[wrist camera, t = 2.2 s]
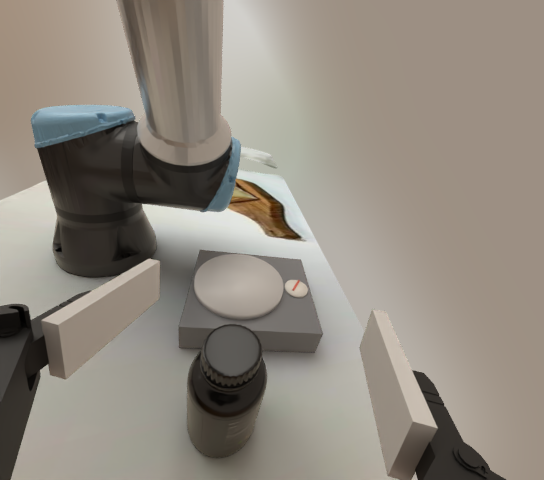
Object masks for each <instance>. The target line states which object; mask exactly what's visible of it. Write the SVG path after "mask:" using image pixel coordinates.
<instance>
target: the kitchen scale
mask: <svg viewBox="0 0 544 480" xmlns="http://www.w3.org/2000/svg"><path fill="white" fill-rule="evenodd" d="M228 324H237V325H242V326H246V327H247V328H249V329H251V331H253V332H254V333H255V334H256V335H257V336H258V339H259V340H260V343H261V345H262V347H261V348H262V351H286V352H313V353H315V351H316V348H317V346H318V344H319V341H320V339H321V337H322V334H323V333H322V330H321V326H320V323H319V319H318V316H317V313H316V309H315V306H314V302H313V299H312V295H311V292H310V289H309V285H308V282H307V278H306V275H305V272H304V268H303V265H302V261H301V260H299V259H288V258H278V257H268V256H257V255H247V254H237V253H227V252H216V251H206V250H200V252H199V255H198V259H197V262H196V266H195V270H194V273H193V277H192V280H191V284H190V288H189V291H188V295H187V299H186V302H185V306H184V309H183V313H182V317H181V320H180V324H179V348H202V346H203V344H204V340H205V339H206V337H207V336H208V335H209V334H210V332H212V331H213V330H214V329H216V328H218V327H219V326H223V325H228Z"/></svg>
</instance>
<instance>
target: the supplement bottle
mask: <svg viewBox="0 0 544 480" xmlns="http://www.w3.org/2000/svg"><path fill="white" fill-rule="evenodd" d="M261 347H262V345H261V343H260V340H259V339H258V336H257V335H256V334H255V333H254V332H253V331H251V329H249V328H247V327H246V326H242V325H237V324H228V325H223V326H219V327H218V328H216V329H214V330H213V331H212V332H210V334H209V335H208V336H207V337H206V339H205V340H204V344H203V346H202V350H201V351H200V352H199V353H198V354H197V356H196V357H195V359H194V360H193V362H192V364H191V366H190V369H189V373H188V382H187V427H188V433H189V436H190V439H191V441H192V443H193V444H194V446H195V447H196V448H197V449H198V450H199V451H200V452H201V453H203V454H205V455H207V456H210V457H214V458H222V457H226V456H229V455H232V454H234V453H235V452H237V451H238V450H239V449H241V448H242V447H243V446H244V445H245V443H246V442H247V440H248V439H249V437H250V435H251V433H252V431H253V428H254V425H255V422H256V418H257V415H258V412H259V409H260V405H261V402H262V399H263V396H264V392H265V389H266V384H267V370H266V366H265V363H264V361H263V359H262V348H261Z"/></svg>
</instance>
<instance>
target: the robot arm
mask: <svg viewBox="0 0 544 480" xmlns="http://www.w3.org/2000/svg"><path fill="white" fill-rule="evenodd" d="M116 1H117V4H118V9H119V12H120V16H121V20H122V24H123V28H124V32H125V36H126V39H127V43H128V47H129V51H130V55H131V59H132V63H133V66H134V70H135V74H136V78H137V82H138V86H139V90H140V93H141V98H142V101H143V105H144V109H145V113H144V114H143V115H142V117H141V118H140V120H139V122H135V121H134V120H135V116H134V114H133V112H132V110H131V109H129V108H124V107H120V106H108V105H67V106H54V107H46V108H42V109H39V110H37V111H36V112H35V113H34V114H33V115H32V118H31V124H32V129H33V133H34V138H35V148H37V149H38V153H39V156H40V160H41V163H42V166H43V170H44V173H45V176H46V180H47V183H48V186H49V189H50V193H51V196H52V199H53V203H54V206H55V209H56V213H57V221H56V227H55V234H54V240H53V253H54V256H55V259H56V262H57V264H58V265H59V266H60V267H61V268H62V269H63V270H65V271H67V272H69V273H72V274H75V275H80V276H87V277H102V276H111V275H116V274H120V273H123V274H121V275H119V276H117V277H116V278H114V279H112V280H111V281H109V282H107V283H105V284H104V285H102V286H100V287H98V288H97V289H95V290H93V291H87V292H84V293H81V294H78V295H76V296H74V297H72V298H71V299H69V300H67V302H66V301H65V302H63V303H61V304H60V305H59V306H56V307H54V308H52V309H51V310H49V311H47V312H45V313H43V314H42V315H40V316H38V317H36V318H34V319H33V320H31V319H30V314H29V308H28V307H27V306H26V305H22V304H9V305H4V306H0V480H10V479H11V476H12V472H13V469H14V466H15V462H16V459H17V455H18V452H19V448H20V445H21V442H22V438H23V435H24V431H25V428H26V425H27V421H28V418H29V414H30V411H31V407H32V404H33V401H34V397H35V394H36V390H37V387H38V383H39V380H40V370H41V369H42V368H43V367H45V366H46V365H47V364H48V365H49V371H50V375H53V376H56V377H59V378H63V379H67V378H68V377H69V376H71V375H72V374H73V373H74V372H75V371H76V370H78V369H79V368H80V367H81V366H82V365H83V364H85V363H86V362H87V361H88V360H89V359H90V358H91V357H93V356H94V355H95V354H96V353H97V352H98V351H100V350H101V349H102V348H103V347H104V346H105V345H107V344H108V343H109V342H110V341H111V340H112V339H113V338H115V337H116V336H117V335H118V334H119V333H120V332H122V331H123V330H124V329H125V328H126V327H127V326H129V325H130V324H131V323H132V322H133V321H134V320H135V319H137V318H138V317H139V316H140V315H141V314H142V313H144V312H145V311H146V310H147V309H148V308H149V307H151V306H152V305H153V304H154V303H155V302H156V301H157V300H159V298H160V261H158V260H153V259H150V258H151V257H152V256H153V255H154V253H155V251H156V236H155V233H154V231H153V229H152V227H151V225H150V223H149V221H148V219H147V217H146V215H145V213H144V211H143V208H142V204H150V205H159V206H166V207H174V208H181V209H189V210H196V211H200V212H206V211H212V212H221V211H224V210H225V209H226V208H227V207H228V206H229V203H230V201H231V198H232V195H233V191H234V187H235V179H236V176H237V172H238V167H239V161H240V152H241V144H240V142H239V140H237V139H235V138H234V137H231V130H230V127H229V125H228V123H227V121H226V120H225V119H224V118H223V117H222V116H221V114H220V113H221V75H222V36H223V33H222V32H223V0H116ZM360 352H361V357H362V361H363V366H364V370H365V375H366V379H367V384H368V389H369V393H370V398H371V402H372V407H373V411H374V416H375V421H376V425H377V430H378V434H379V439H380V443H381V448H382V453H383V457H384V462H385V466H386V471H387V475H388V476H390V477H393V478H396V479H400V480H411V479H412V477H413V475H414V473H415V472H416V475H417V478H418V480H506V479H504V478H502V477H501V476H499V475H497V474H495V473H494V472H492V471H491V470H490V468H489V466H488V464H487V463H486V462H485V460H484V459H483V458H482V457H481V455H479V453H477V452H476V451H475V450H474V449H473V448H472V447H470V446H469V445H467V444H466V443H464V442H463V440H462V438H461V436H460V434H459V432H458V430H457V428H456V427H455V424H454V422H453V421H452V419H451V417H450V415H449V413H448V411H447V409H446V407H444V403H443V401H442V399H441V397H439V393H438V391H437V389H436V388H435V386H434V384H433V383H432V382H431V381H430V379H429V378H428V377H427V376H426V375H425V374H424V373H421V372H417V371H413V370H412V369H411V367H410V365H409V363H408V360H407V358H406V356H405V354H404V351H403V349H402V347H401V345H400V342H399V340H398V338H397V336H396V334H395V331H394V329H393V327H392V325H391V322H390V320H389V318H388V315H387V313H386V312H383V311H379V310H375V309H372V311H371V315H370V318H369V320H368V323H367V327H366V330H365V333H364V336H363V339H362V342H361V345H360Z"/></svg>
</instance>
